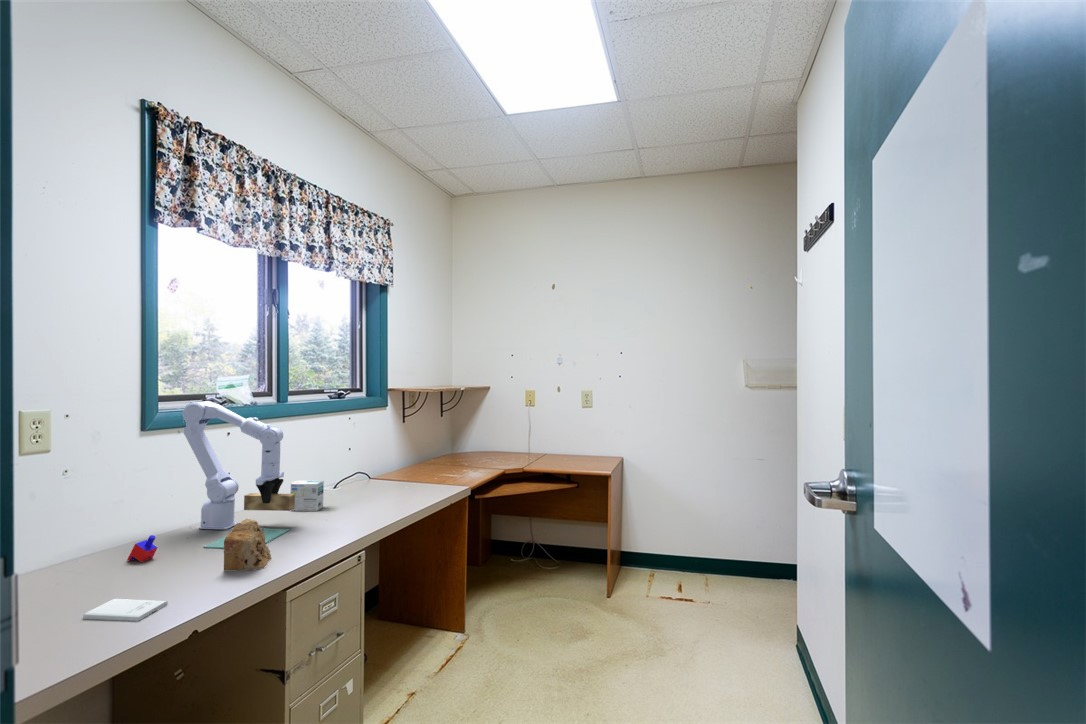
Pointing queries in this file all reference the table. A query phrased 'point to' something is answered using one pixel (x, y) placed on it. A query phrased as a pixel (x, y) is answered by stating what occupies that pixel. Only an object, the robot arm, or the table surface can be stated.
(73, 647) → the table surface
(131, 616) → the external hard drive
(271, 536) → the board
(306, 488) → the light bulb box
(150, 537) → the red blue dreidel
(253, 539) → the stone fragment
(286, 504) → the bronze bar
